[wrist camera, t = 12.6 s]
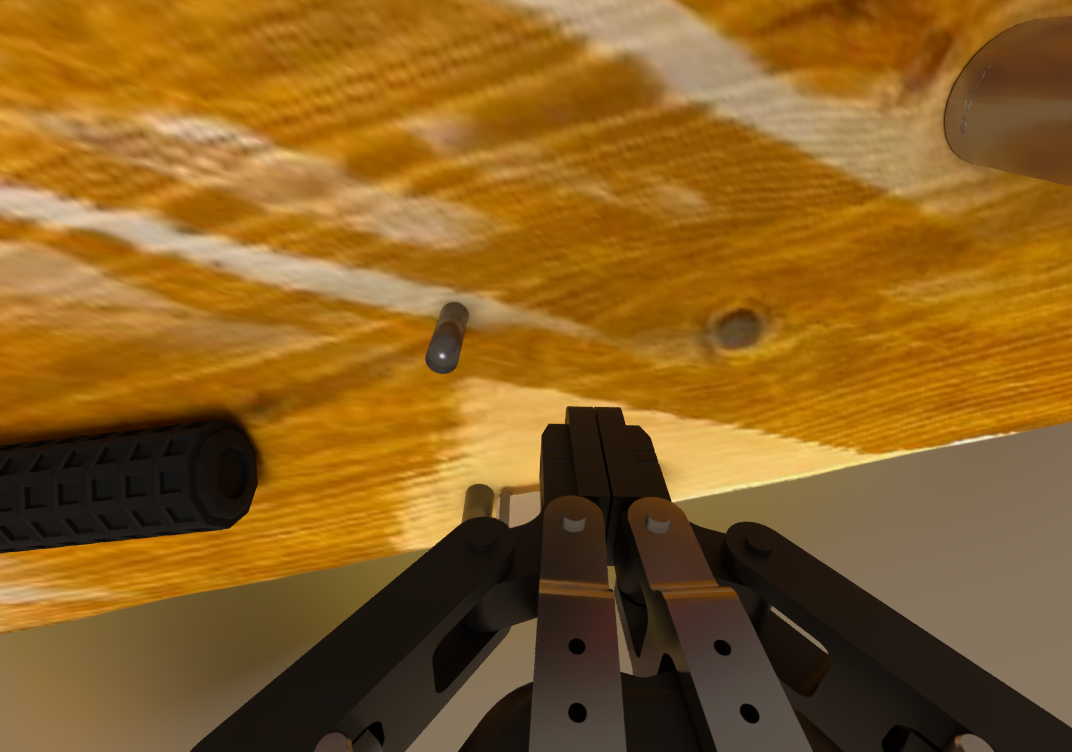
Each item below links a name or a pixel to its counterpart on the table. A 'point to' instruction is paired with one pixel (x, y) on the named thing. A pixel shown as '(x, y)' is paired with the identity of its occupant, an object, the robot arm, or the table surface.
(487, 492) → the gate frame
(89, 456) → the roller
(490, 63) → the table surface
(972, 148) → the robot arm
